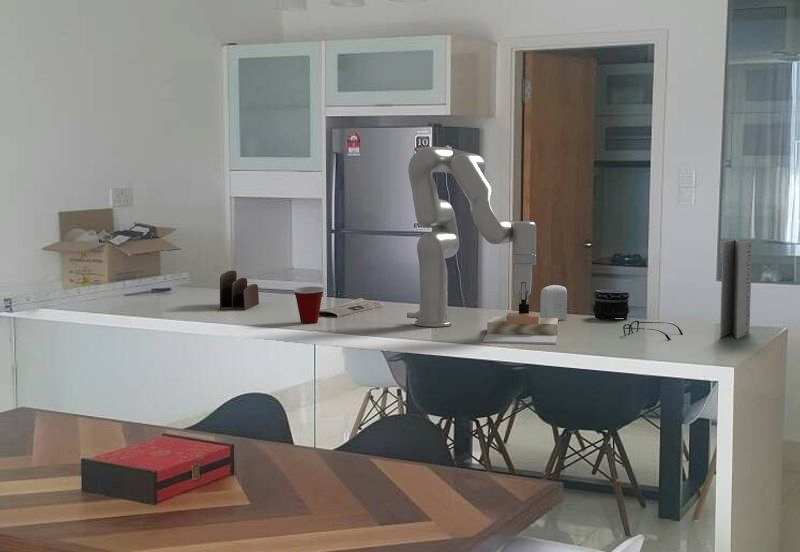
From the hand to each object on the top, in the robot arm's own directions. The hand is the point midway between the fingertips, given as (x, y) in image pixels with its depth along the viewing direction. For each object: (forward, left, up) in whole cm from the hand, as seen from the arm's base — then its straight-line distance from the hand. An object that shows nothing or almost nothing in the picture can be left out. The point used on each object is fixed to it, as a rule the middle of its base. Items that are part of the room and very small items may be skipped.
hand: (523, 316), depth 346 cm
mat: (0, -16, -5) cm, 17 cm away
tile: (0, -5, 0) cm, 5 cm away
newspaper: (-67, +43, -6) cm, 80 cm away
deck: (0, -1, -5) cm, 5 cm away
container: (+29, +38, -6) cm, 48 cm away
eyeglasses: (+41, 0, -6) cm, 41 cm away
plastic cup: (-74, +10, -5) cm, 75 cm away
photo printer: (+9, +30, -6) cm, 32 cm away
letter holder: (-111, +48, -6) cm, 121 cm away
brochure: (+67, +5, -5) cm, 67 cm away
